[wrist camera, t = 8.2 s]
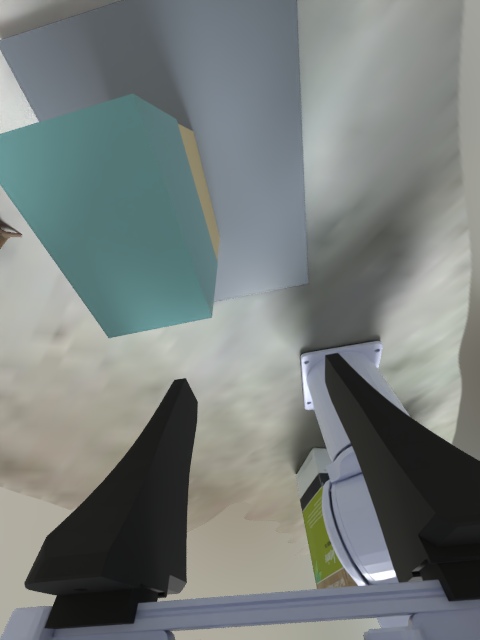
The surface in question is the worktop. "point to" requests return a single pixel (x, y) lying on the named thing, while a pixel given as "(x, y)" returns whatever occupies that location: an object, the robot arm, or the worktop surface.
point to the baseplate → (197, 110)
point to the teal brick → (116, 212)
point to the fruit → (7, 236)
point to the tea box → (319, 522)
